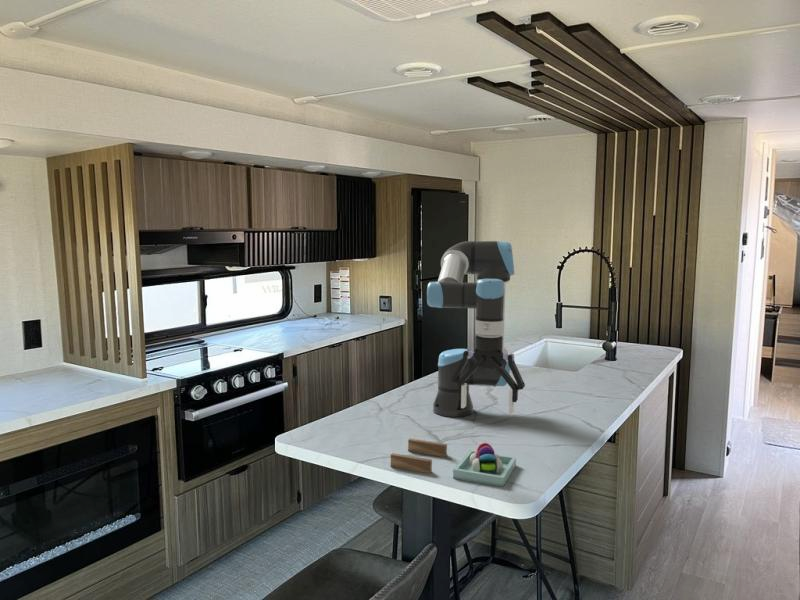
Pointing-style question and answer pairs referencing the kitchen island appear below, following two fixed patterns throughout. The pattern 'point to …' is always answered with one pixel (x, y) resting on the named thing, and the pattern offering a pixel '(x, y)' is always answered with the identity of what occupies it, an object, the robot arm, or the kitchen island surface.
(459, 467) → the tray
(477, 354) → the robot arm
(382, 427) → the kitchen island surface
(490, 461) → the rainbow disc toy
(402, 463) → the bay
